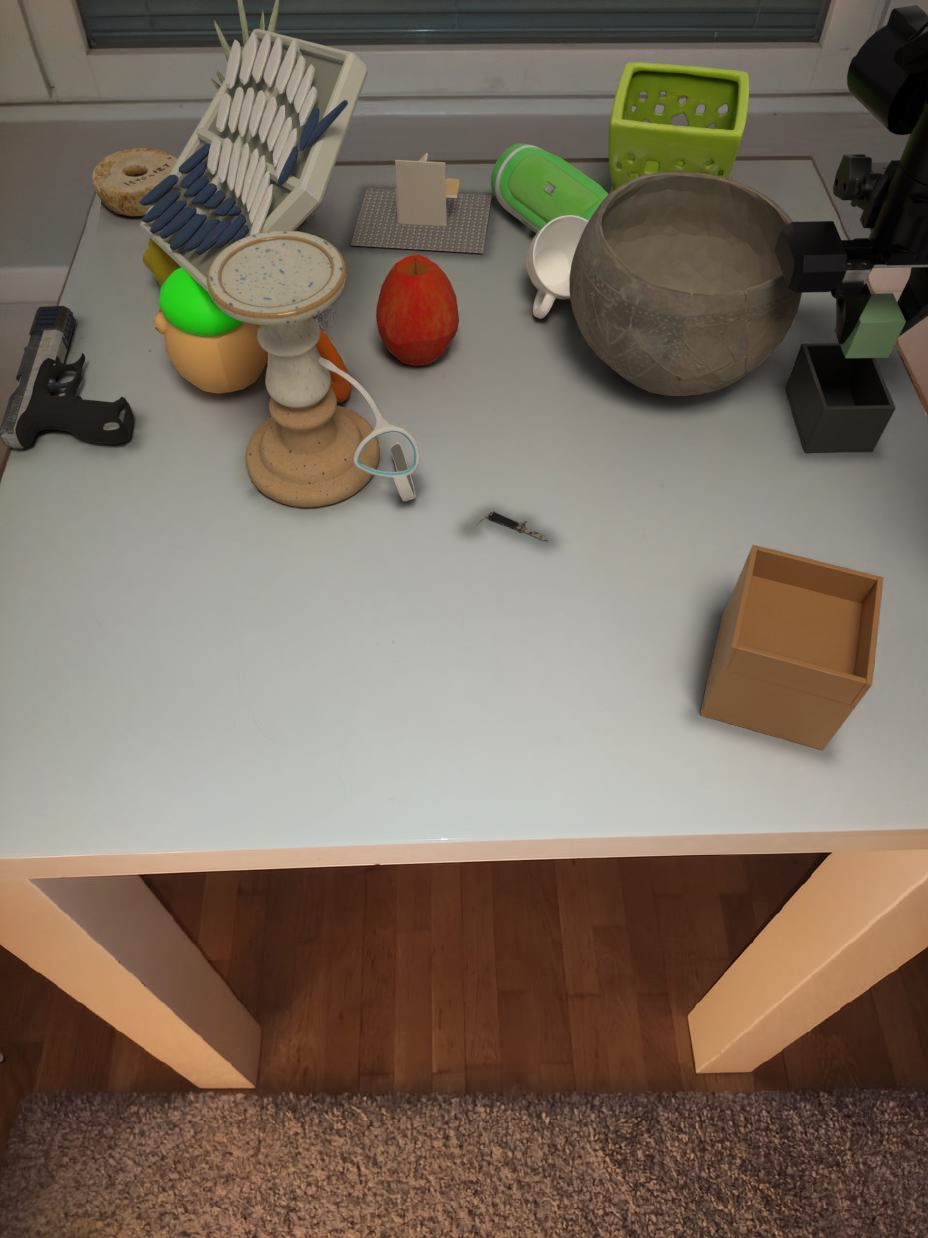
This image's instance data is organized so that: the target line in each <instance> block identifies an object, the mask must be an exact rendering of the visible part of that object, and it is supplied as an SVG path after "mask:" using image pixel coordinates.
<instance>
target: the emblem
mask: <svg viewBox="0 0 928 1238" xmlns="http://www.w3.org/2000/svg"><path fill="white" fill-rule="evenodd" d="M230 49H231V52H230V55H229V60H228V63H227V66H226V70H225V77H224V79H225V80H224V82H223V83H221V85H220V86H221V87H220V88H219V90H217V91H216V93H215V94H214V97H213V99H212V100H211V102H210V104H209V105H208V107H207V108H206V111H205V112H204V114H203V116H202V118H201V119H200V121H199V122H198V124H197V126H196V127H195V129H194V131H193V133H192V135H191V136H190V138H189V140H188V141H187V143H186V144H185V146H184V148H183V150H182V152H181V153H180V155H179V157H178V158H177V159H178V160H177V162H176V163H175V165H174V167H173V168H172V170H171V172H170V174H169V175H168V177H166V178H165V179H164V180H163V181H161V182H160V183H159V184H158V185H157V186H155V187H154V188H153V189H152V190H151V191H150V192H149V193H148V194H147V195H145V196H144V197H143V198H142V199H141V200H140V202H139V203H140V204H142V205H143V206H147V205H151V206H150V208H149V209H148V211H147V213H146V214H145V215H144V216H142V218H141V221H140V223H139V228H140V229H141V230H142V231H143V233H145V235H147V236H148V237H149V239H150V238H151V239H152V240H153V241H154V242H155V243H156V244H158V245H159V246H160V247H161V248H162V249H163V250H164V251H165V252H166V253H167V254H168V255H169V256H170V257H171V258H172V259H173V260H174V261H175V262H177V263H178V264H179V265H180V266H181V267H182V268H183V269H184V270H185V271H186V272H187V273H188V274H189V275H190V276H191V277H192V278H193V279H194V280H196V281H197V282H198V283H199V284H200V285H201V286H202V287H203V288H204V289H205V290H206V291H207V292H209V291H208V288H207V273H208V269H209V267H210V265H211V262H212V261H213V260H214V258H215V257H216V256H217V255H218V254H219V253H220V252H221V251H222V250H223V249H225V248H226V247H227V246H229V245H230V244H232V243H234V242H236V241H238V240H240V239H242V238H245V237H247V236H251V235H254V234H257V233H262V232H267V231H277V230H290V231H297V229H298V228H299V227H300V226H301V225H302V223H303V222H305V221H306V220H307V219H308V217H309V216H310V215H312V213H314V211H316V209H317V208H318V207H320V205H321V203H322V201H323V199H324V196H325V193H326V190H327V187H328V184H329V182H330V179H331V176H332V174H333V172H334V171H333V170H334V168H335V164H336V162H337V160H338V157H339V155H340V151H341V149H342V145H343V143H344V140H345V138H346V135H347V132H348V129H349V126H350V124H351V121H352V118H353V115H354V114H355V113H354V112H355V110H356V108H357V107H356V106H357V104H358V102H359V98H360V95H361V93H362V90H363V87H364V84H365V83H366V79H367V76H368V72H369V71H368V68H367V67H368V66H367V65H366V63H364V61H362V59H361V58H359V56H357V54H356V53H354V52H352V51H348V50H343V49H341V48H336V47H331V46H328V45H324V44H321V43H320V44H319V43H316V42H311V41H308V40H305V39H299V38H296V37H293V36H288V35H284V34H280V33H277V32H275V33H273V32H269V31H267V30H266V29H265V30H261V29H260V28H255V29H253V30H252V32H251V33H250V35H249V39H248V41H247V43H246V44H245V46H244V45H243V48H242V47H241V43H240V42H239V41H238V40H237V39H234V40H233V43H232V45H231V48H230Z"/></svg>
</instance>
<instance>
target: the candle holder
mask: <svg viewBox="0 0 928 1238" xmlns="http://www.w3.org/2000/svg"><path fill="white" fill-rule="evenodd" d="M347 273H348V269H347V264H346V261H345V259H344V258H343V255H342V253H341V252H340V250H339V249H338V248H337V247H336V246H335V245H334V244H333V243H331V242H330V241H328V240H327V239H325V238H322V237H321V236H319V235H316V234H312V233H309V232H305V231H298V230H295V231H290V230H277V231H267V232H262V233H257V234H254V235H251V236H247V237H245V238H242V239H240V240H238V241H236V242H234V243H232V244H230V245H229V246H227V247H226V248H225V249H223V250H222V251H221V252H220V253H219V254H218V255H217V256H216V257H215V258H214V260H213V261H212V262H211V265H210V267H209V269H208V273H207V288H208V291H209V294H210V296H211V298H212V300H213V301H214V303H215V304H216V305H217V306H218V307H219V308H220V309H221V310H222V311H223V312H224V313H226V314H227V315H229V316H231V317H233V318H235V319H237V320H240V321H243V322H246V323H251V324H256V325H260V327H259V329H258V331H257V339H258V342H259V344H260V346H261V347H262V348H263V349H264V350H265V351H267V352H268V361H267V363H266V366H267V367H266V371H265V378H264V382H265V388H266V391H267V394H269V396H270V399H269V402H268V410H269V413H270V417H268V418H266V419H265V420H264V421H263V422H262V423H261V424H260V425H259V426H258V427H257V428H256V430H254V432H253V433H252V434H251V437H250V438H249V441H248V443H247V446H246V451H245V466H246V469H247V474H248V476H249V478H250V479H251V481H252V483H253V484H254V486H255V487H256V488H257V490H259V492H261V493H262V494H263V495H265V497H267V498H269V499H271V500H273V501H275V502H277V503H280V504H282V505H286V506H290V507H296V508H318V507H325V506H330V505H334V504H337V503H339V502H341V501H344V500H346V499H348V498H350V497H352V496H353V495H356V493H358V492H359V491H361V490H362V489H363V488H364V487H365V486H366V485H367V484H368V483H369V482H370V480H371V479H372V478H373V476H374V475H373V474H370V473H367V472H365V471H363V470H361V469H359V468H358V467H357V466H356V465H355V464H354V461H353V457H354V454H355V451H356V449H357V447H358V446H359V444H360V443H361V441H362V440H363V439H364V438H365V437H366V436H368V435H369V434H370V433H372V432H373V430H374V428H373V427H372V425H371V423H370V422H368V420H366V419H365V418H364V417H363V416H362V415H360V414H359V413H357V412H355V411H353V410H352V409H350V408H348V407H344V406H341V405H338V402H337V399H336V396H335V393H334V392H333V390H332V389H331V388H330V384H331V379H332V378H331V375H330V372H329V370H328V369H325V368H324V367H323V366H322V365H321V364H320V363H318V360H319V358H320V357H321V356H320V354H319V352H318V349H317V347H316V343H317V342H318V340H319V338H320V328H321V326H320V324H319V323H318V321H317V320H316V318H315V319H314V318H312V317H313V316H315V317H316V316H317V315H319V314H321V313H323V312H324V311H326V310H327V309H328V308H330V307H331V306H332V305H334V303H335V302H336V301H337V300H338V299H339V297H340V296H341V294H342V293H343V291H344V288H345V285H346V283H347ZM321 358H322V357H321ZM380 450H381V449H380V443H379V439H378V436H377V437H375V438H374V439H372V440H371V441H370V442H369V443H368V444H367V445H366V446H365V447H364V449H363V450H362V452H361V454H360V457H359V461H360V463H362V464H364V465H365V466H367V467H370V468H372V469H375V470H377V468H378V465H379V462H380Z"/></svg>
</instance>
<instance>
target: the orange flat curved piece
mask: <svg viewBox="0 0 928 1238" xmlns="http://www.w3.org/2000/svg"><path fill="white" fill-rule="evenodd" d="M255 325H256V324H255ZM256 326H257V328H258V329H259V327H260V325H256ZM316 347H317V349H318V352H319V354H320V356H321V357H322V358H324V359H326V360H329V361H330V362H332V363H333V364H334V365H335V366H336V367H337V368H338V369H340V370H342V371H343V372H345V373H347V374H348V375H349V372H348V369H347V367H346V365H345V363H344V361H343V358H342V357H341V355H340V352H338V350H337V349H336V347H335V345H334V344H333V342H332V340H331V339H330V338H329V337H328V335H327V334H326V333H325V332H324V330H323V329H322V328H321V327H320V338H319V340H318V342H317V343H316ZM329 372H330V376H331V384H330V388H331V389H332V390H333V392H334V393H335V396H336V399H337V403H343V402H345V401H346V400H348V399H349V397H350V395H351V394H352V393H351V392H352V384H351V383H350V382H349V381H348V380H346V379H345V378H343V377H342V376H340V375H339V374H337V373H336V372H333V371H330V370H329Z"/></svg>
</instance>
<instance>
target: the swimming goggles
mask: <svg viewBox="0 0 928 1238" xmlns="http://www.w3.org/2000/svg"><path fill="white" fill-rule="evenodd" d="M318 363H320V364H321V365H322V366H323V367H324V368H325V369H328V370H330V371H333V372H336V373H337V374H339V375H340V376H342V377H343V378H345V379H346V380H348V381H349V382H350V383H351V386H353V387H354V388H355V389H356V390H357V391H358V392H359V393H360V394H361V395H362V396H363V398H364V399H365V400H366V402H367V403H368V405H369V407H370V408H371V410H372V412H373V414H374V416H375V420H376V423H375V426H374V428H373V432H372V433H370V434H369V435H368V436H366V437H365V438H364V439H363V440H362V441H361V443H360V444H359V446H358V447H357V449H356V451H355V454H354V457H353V461H354V464H355V465H356V466H357V467H358V468H359V469H361V470H363V471H365V472H367V473H370V474H373V476H376V477H381V478H392V479H393V481H394V484H395V487H396V489H397V492H398V495H399V497H400V499H401V500H402V502H408V501H410V500H414V499H416V498H417V494H416V489H415V485H414V481H413V477H412V475H411V474H413V473H414V472H415V471H416V470H417V469H418V468H419V464H420V459H421V454H420V448H419V444H418V443H417V440H416V438H414V436H413V435H412V434H411V432H410V431H408V430H407V429H406V428H404V427H403V426H399V425H395V424H394V425H393V424H391V423H389V422H388V421H387V420H386V419H385V418H384V417H383V415H382V414H381V412H380V410H379V408H378V405H377V404H376V403H375V401H374V399H373V397H371V395H370V394H369V393H368V391H367V390H366V389H365V387H363V386H362V384H360V383H359V382H358V381H357V380H356V379H354V377H352V376H351V375H349V373H348V374H347V373H345V372H343V371H342V370H340V369H338V368H337V367H336V366H335V365H334V364H333V363H332V362H330V361H329V360H326V359H324V358H321V357H320V358H319V360H318ZM387 433H398V434H401V435H402V436H403V437H405V438H406V439H407V441H408V442H409V444H410V445H411V447H412V450H413V462H412V464H411V466H410V467H409V464H408V460H407V458H406V454H405V451H404V448H403V446H402V445H403V444H401V443H400V442H398V441H396V442H393V443H392V444H391V445H390V446H389V447H388V448H389V451H390V455H391V457H392V460H393V464H394V467H395V469H396V471H385V470H384V471H383V470H379V469H376V470H375V469H372V468H370V467H367V466H365V465H364V464H362V463H360V461H359V457H360V454H361V452H362V450H363V449H364V447H365V446H366V445H367V444H368V443H369V442H370V441H371V440H372V439H374V438H375V437H377V438H378V437H379V436H381V435H383V434H387Z"/></svg>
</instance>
